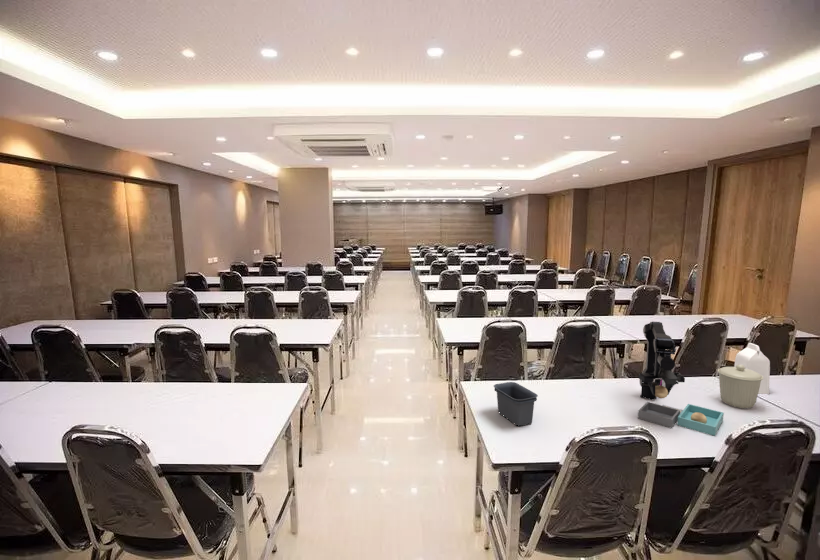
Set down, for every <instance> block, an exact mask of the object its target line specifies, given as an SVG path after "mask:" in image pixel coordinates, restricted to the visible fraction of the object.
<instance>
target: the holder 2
mask: <svg viewBox="0 0 820 560" xmlns="http://www.w3.org/2000/svg"><path fill="white" fill-rule="evenodd" d="M682 410H683V411H682V412H681V414H680V415H679V416H678V421H677V422H676V424H677V426H679V427H682V428H685V427H686V429H689V430H693V431H696V432H699V433H703V434H707V435H710V436H714V437H716V435H717V434H718V431H719V429H720V427H721V425H722V424H723V421H724V413H725V412H723V411H718V410H716V409H711V408H707V407H702V406H700V405H695V404H690V403H688V404H686V406H685V407H684V409H682ZM696 412H699V413H702V414H704V415H705V417H706V418H707V423H706V424H704V423H700V422H697V421H693V420H691V415H692V414H693V413H696Z"/></svg>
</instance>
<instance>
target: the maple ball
mask: <svg viewBox="0 0 820 560" xmlns="http://www.w3.org/2000/svg"><path fill="white" fill-rule="evenodd" d="M655 396H656V398H658V399H665V398H667V397H668V396H669V394H668V390H667V389H666V388H665V387H664V386H661V385H658V386H656V387H655Z"/></svg>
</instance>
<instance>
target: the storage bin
mask: <svg viewBox="0 0 820 560" xmlns="http://www.w3.org/2000/svg"><path fill="white" fill-rule="evenodd" d="M493 388H494V392H496V400H497V412H500V413H501V414H502V415H504V416H505V417H506V418H508V419H509V420H510V421H509V420H508V419H507V420H508V421H509V422H511V421H512V422H513V423H515V424H516V425H518V426H517V427H520V426H519V425H523V426H525V425H524V424H527V425H529V424H528V423H531V424H532V423H533V416H534V408H535V402H537V400H538V398H537V397H539V396H538V394H537V393H535V392H533V391H532V390H530V389H529V388H527V387H525V386H523V385H522V384H520V383H518V382H516V381H509V382H502V383H501V382H500V383H496V384H494V385H493ZM501 414H500V415H501ZM502 415H501V416H502ZM504 416H503V417H504ZM505 417H504V418H505ZM506 418H505V419H506ZM512 422H511V423H512ZM513 423H512V424H513ZM515 424H514V425H515ZM516 425H515V426H516Z"/></svg>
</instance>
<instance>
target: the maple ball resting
mask: <svg viewBox="0 0 820 560" xmlns="http://www.w3.org/2000/svg"><path fill="white" fill-rule="evenodd" d="M691 420H693V421H697V422H700V423H704V424H706V423H707V418H706V417H705V415H704V414H702V413H699V412H696V413H693V414H692V415H691Z"/></svg>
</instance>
